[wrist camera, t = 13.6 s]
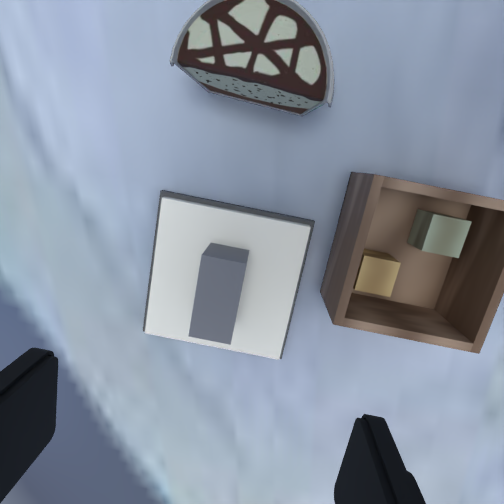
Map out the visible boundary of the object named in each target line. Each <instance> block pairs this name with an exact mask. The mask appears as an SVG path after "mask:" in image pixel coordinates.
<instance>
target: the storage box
mask: <svg viewBox="0 0 504 504" xmlns="http://www.w3.org/2000/svg"><path fill="white" fill-rule="evenodd" d="M418 209H420V210H425V211H430V212H435V213H440V214H445V215H449V216H454V217H457V218H461V219H464V220H468V221H471V225H470V228H469V231H468V233H467V236H466V239H465V242H464V245H463V247H462V250H461V253H460V256H459V258H455V257H450V256H445V255H440V254H435V253H430V252H425V251H421V250H419V249H418V248H416V247H414V246H412V245H411V244H409V243H407V242H408V238H409V235H410V232H411V229H412V226H413V223H414V219H415V216H416V213H417V210H418ZM364 249H368V250H373V251H378V252H383V253H388V254H390V255H391V256H393V257H394V258H395V259H396V260H398V261H399V262H400V263H401V264H400V267H399V271H398V274H397V277H396V280H395V283H394V286H393V290H392V293H391V296H390V297H387V296H382V295H377V294H372V293H367V292H362V291H358V290H354V288H353V286H354V282H355V279H356V275H357V272H358V268H359V265H360V261H361V258H362V254H363V251H364ZM320 293H321V295H322V298H323V300H324V303H325V305H326V308H327V310H328V313H329V316H330V318H331V321H332V323H333V324H334V325H339V326H344V327H349V328H354V329H359V330H364V331H369V332H374V333H379V334H384V335H389V336H394V337H399V338H404V339H409V340H414V341H419V342H424V343H429V344H434V345H439V346H444V347H448V348H453V349H458V350H463V351H468V352H473V353H478V354H479V353H480V351H481V348H482V346H483V343H484V341H485V338H486V336H487V333H488V331H489V328H490V326H491V323H492V321H493V318H494V316H495V313H496V311H497V308H498V306H499V303H500V301H501V298H502V296H503V293H504V200H500V199H495V198H490V197H485V196H480V195H475V194H470V193H465V192H460V191H455V190H450V189H445V188H440V187H435V186H430V185H425V184H420V183H415V182H410V181H405V180H400V179H395V178H390V177H386V176H381V175H376V174H366V173H356V172H351V175H350V179H349V182H348V186H347V190H346V194H345V198H344V202H343V205H342V209H341V213H340V217H339V221H338V225H337V229H336V232H335V236H334V240H333V244H332V248H331V252H330V255H329V259H328V263H327V267H326V271H325V275H324V278H323V282H322V286H321V290H320Z"/></svg>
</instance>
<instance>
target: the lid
mask: <svg viewBox="0 0 504 504" xmlns="http://www.w3.org/2000/svg"><path fill="white" fill-rule="evenodd" d="M310 229H311V227H310V225H306V224H301V223H296V222H291V221H286V220H281V219H276V218H271V217H266V216H261V215H256V214H251V213H246V212H241V211H236V210H230V209H225V208H220V207H215V206H210V205H205V204H200V203H195V202H190V201H185V200H180V199H175V198H170V197H162V200H161V208H160V216H159V224H158V232H157V240H156V248H155V256H154V264H153V272H152V280H151V287H150V295H149V303H148V311H147V319H146V327H145V333H146V334H151V335H157V336H162V337H167V338H172V339H177V340H182V341H187V342H192V343H197V344H202V345H207V346H212V347H217V348H222V349H227V350H232V351H237V352H242V353H247V354H252V355H257V356H262V357H267V358H272V359H277V360H279V359H280V354H281V350H282V346H283V342H284V338H285V333H286V329H287V325H288V321H289V317H290V313H291V308H292V304H293V300H294V296H295V292H296V287H297V283H298V279H299V275H300V271H301V266H302V262H303V258H304V254H305V250H306V246H307V241H308V237H309V233H310Z"/></svg>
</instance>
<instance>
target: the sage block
mask: <svg viewBox="0 0 504 504" xmlns="http://www.w3.org/2000/svg"><path fill="white" fill-rule="evenodd" d="M470 225H471V221H468V220H464V219H461V218H457V217H454V216H449V215H445V214H440V213H435V212H430V211H425V210H420V209H418V210H417V213H416V216H415V219H414V223H413V226H412V229H411V232H410V235H409V238H408V242H407V243H409V244H411V245H412V246H414V247H416V248H418V249H419V250H421V251H425V252H430V253H435V254H440V255H445V256H450V257H455V258H459V256H460V253H461V250H462V247H463V245H464V242H465V239H466V236H467V233H468V231H469V228H470Z"/></svg>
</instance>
